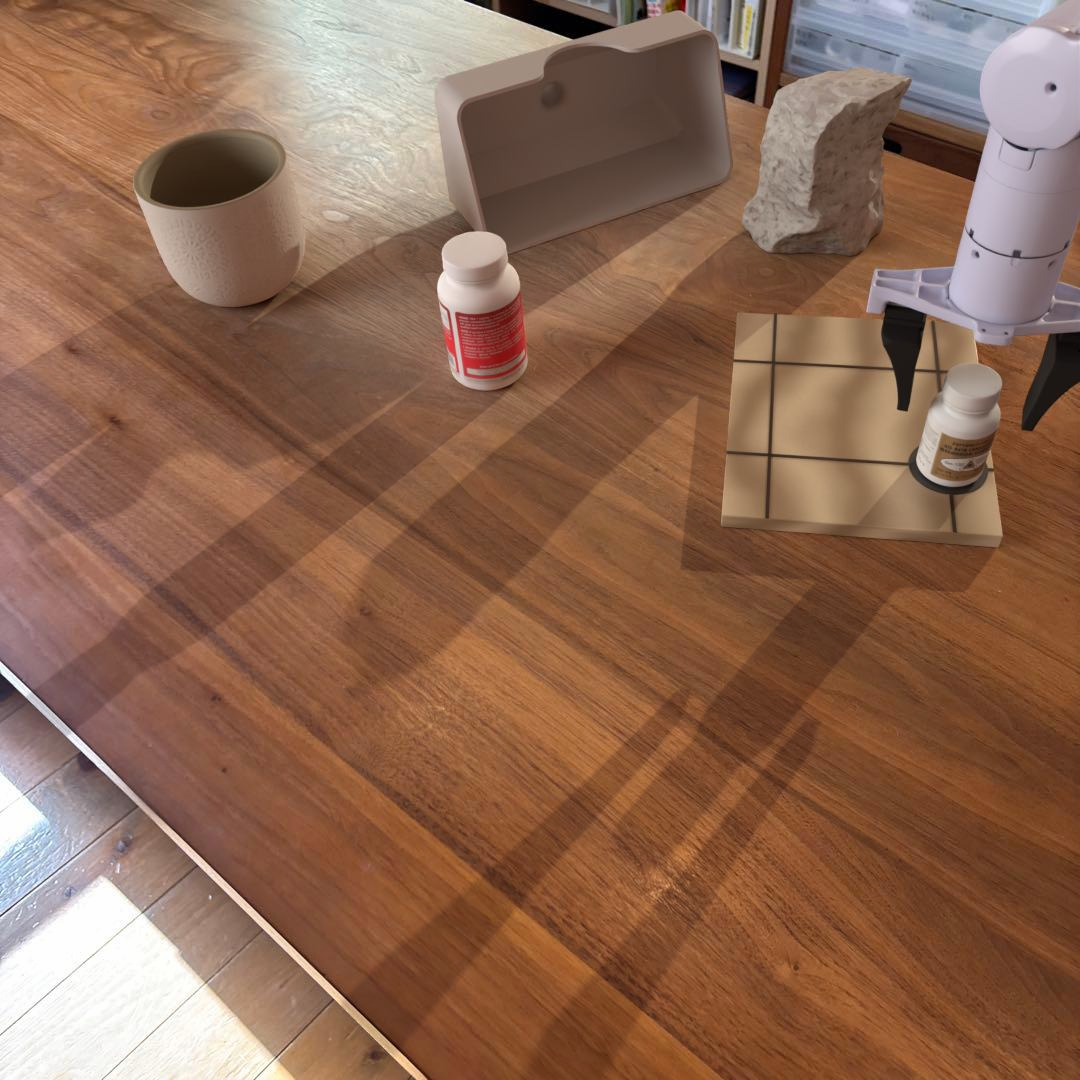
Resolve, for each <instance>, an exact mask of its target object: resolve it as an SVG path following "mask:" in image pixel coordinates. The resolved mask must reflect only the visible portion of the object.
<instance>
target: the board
mask: <svg viewBox="0 0 1080 1080" xmlns="http://www.w3.org/2000/svg"><path fill="white" fill-rule="evenodd" d="M883 319H884V318H882V319H881V318H861V317H844V316H843V317H841V316H840V317H839V316H819V315H799V314H796V315H795V314H778V313H777V312H775V313H754V312H753V313H752V312H737V314H736V321H735V322H736V323H735V325H736V326H735V336H734V337H735V338H734V339H735V340H734V348H733V361H732V362H733V364H732V376H731V389H730V401H729V414H728V424H727V425H728V426H727V438H726V439H727V440H726V451H725V453H726V454H725V464H724V465H725V467H724V477H723V478H724V479H723V490H722V502H721V506H722V507H721V517H720V527H722V528H736V529H747V530H762V531H775V532H786V533H787V532H788V533H802V534H814V535H828V536H839V537H854V538H865V539H866V538H867V539H877V540H878V539H879V540H880V539H881V540H891V541H892V540H893V541H894V540H895V541H905V542H906V541H908V542H919V543H930V544H931V543H932V544H945V545H946V544H947V545H959V546H972V547H974V546H975V547H985V548H997V549H998V548H1000V545H1001V543H1002V540H1003V537H1004V535H1003V533H1004V532H1003V526H1002V521H1001V512H1000V505H999V499H998V492H997V485H996V484H997V483H996V478H995V468H994V464H993V463H994V462H993V456H992V455H993V454H992V449H990V452H989V455H988V457H987V460H986V463H985V466H984V469H983V472H982V474H981V475H980V477H979V478H978V479H977V480H976V481H974V482H973V483H971V484H969V485H965V486H960V487H948V486H943V485H940V484H937V483H935V482H933V481H931V480H929V479H928V478H927V477H925V476H924V475H923V474H922V473H921V471H920V470H919V468H918V466H917V462H916V458H917V453H918V449H919V446H920V442H921V438H922V434H923V431H924V427H925V423H926V419H927V416H928V412H929V408H930V405H931V402H932V400H933V399H934V397H935V396H936V395H937V394H938V393H940V392H941V391H942V386H943V384H944V380H945V377H946V374H947V372H948V371H949V370H950V369H951V368H952V367H954V366H956V365H959V364H963V363H978V364H980V363H979V357H978V349H977V343H976V342H977V341H976V340H975V338H974V331H972V330H969V329H967V328H964V327H961V326H958V325H956V324H953V323H950V322H947V321H935V320H931V321H930V320H929V321H928V320H926V324H925V328H924V333H923V338H922V344H921V349H920V353H919V356H918V360H917V364H916V368H915V375H914V382H913V387H912V393H911V399H910V404H909V408H908V412H906V411H900V410H897V403H898V393H897V384H896V379H895V374H894V370H893V367H892V364H891V361H890V359H889V356H888V354H887V352H886V350H885V348H884V347H883V343H882V338H881V329H882V324H883Z"/></svg>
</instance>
